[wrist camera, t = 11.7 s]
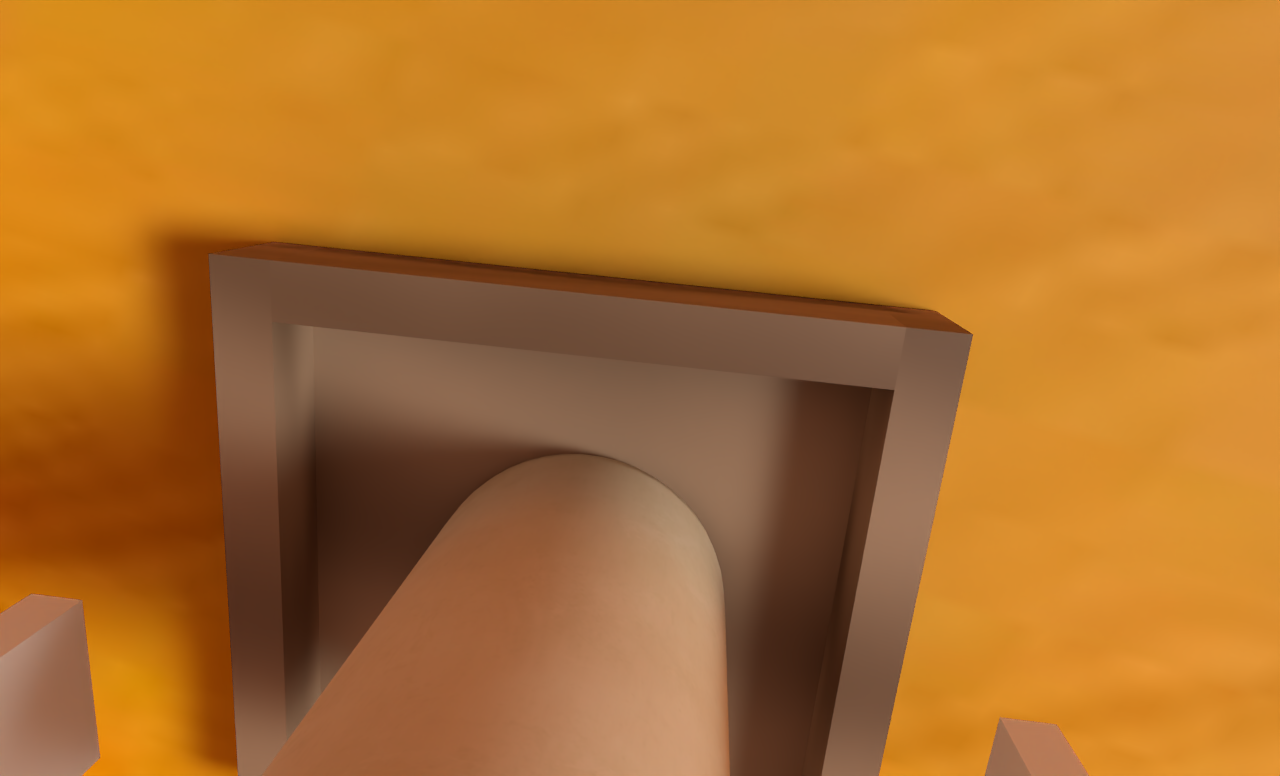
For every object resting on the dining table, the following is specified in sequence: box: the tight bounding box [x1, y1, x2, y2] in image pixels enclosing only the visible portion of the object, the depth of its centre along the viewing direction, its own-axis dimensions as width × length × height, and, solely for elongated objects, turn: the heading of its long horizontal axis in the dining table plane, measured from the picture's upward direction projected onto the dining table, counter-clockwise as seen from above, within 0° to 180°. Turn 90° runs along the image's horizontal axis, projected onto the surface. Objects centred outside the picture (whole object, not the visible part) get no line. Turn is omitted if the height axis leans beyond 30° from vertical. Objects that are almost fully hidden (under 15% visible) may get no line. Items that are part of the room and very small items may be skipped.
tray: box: [209, 242, 973, 776], centre depth 15 cm, size 12×12×2 cm
